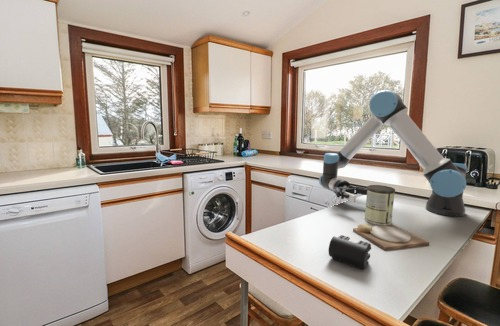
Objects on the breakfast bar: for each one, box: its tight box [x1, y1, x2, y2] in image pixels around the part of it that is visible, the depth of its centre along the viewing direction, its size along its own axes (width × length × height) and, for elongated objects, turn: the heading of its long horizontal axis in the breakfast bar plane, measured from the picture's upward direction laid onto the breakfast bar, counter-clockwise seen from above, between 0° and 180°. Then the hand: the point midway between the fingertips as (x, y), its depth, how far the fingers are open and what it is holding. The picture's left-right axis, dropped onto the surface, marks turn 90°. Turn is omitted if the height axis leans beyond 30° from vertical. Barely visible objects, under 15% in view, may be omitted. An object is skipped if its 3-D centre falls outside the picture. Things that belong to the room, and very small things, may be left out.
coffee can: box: [364, 184, 396, 226], centre depth 112 cm, size 10×10×14 cm
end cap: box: [328, 234, 372, 270], centre depth 78 cm, size 10×7×7 cm
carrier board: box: [352, 224, 430, 251], centre depth 96 cm, size 18×16×2 cm
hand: (368, 198), depth 118 cm, fingers open, 13 cm apart
